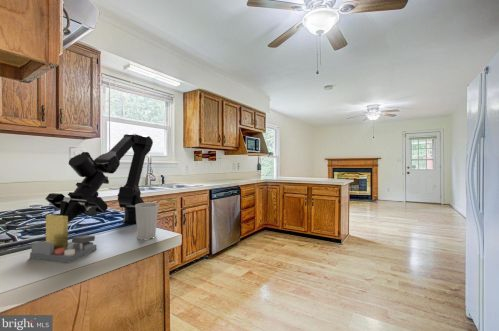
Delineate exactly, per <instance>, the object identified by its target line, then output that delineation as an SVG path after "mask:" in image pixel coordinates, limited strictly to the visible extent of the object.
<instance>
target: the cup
mask: <svg viewBox="0 0 499 331" xmlns="http://www.w3.org/2000/svg"><path fill="white" fill-rule="evenodd" d="M159 207H160V204H159V203H157V202H144V203H139V204H136V205H135V209H136V222H135V223H136V239H137V240H139V239H140V240H141V241H144V240H143V239H150V238H153V237H155V236H157V234H156V232H157V224H158V214H159ZM155 238H156V237H155ZM153 239H154V238H153ZM150 240H151V239H150Z"/></svg>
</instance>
